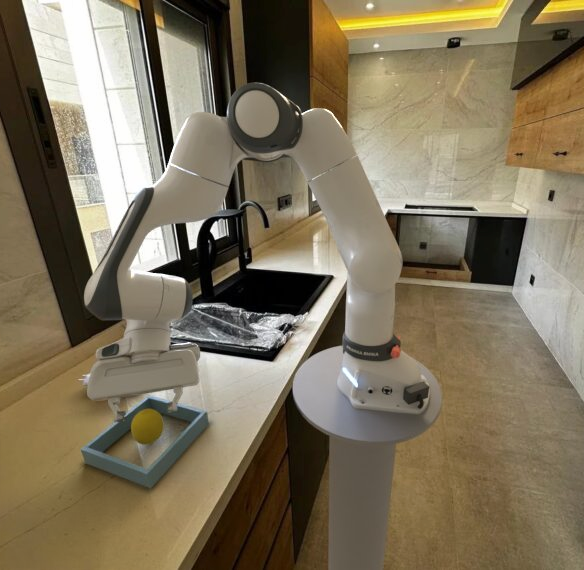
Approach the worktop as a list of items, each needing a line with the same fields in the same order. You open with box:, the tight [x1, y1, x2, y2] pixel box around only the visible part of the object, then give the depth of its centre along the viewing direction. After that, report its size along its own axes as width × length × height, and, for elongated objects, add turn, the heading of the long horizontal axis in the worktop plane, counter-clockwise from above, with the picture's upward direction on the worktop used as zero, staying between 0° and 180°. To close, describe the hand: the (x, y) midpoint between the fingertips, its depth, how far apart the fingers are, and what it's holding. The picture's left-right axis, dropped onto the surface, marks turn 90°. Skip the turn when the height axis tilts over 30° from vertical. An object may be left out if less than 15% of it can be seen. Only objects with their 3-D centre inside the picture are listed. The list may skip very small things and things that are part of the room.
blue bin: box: [80, 394, 210, 489], centre depth 65 cm, size 16×16×4 cm
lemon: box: [130, 409, 165, 446], centre depth 64 cm, size 6×6×8 cm
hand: (146, 416), depth 64 cm, fingers open, 8 cm apart
